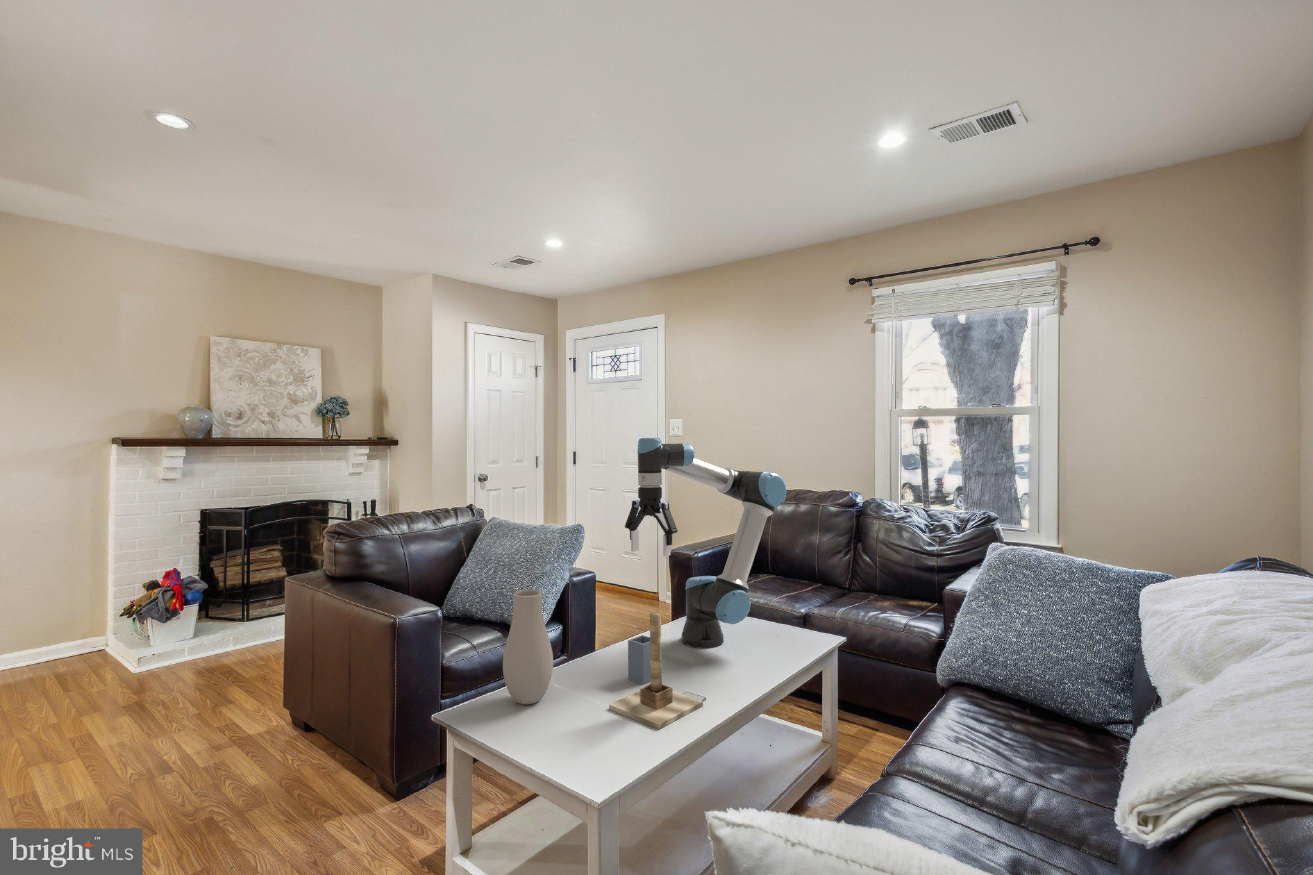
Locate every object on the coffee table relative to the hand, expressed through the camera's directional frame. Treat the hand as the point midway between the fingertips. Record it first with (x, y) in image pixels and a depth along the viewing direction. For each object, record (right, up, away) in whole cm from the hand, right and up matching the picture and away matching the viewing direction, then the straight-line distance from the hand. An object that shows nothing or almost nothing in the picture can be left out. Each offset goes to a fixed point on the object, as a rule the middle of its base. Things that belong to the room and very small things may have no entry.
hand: (650, 553), depth 194 cm
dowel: (+2, -35, -28) cm, 45 cm away
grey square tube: (-2, -37, -9) cm, 38 cm away
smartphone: (+9, -37, -27) cm, 47 cm away
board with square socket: (+2, -36, -28) cm, 46 cm away
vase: (-34, -37, -23) cm, 55 cm away
